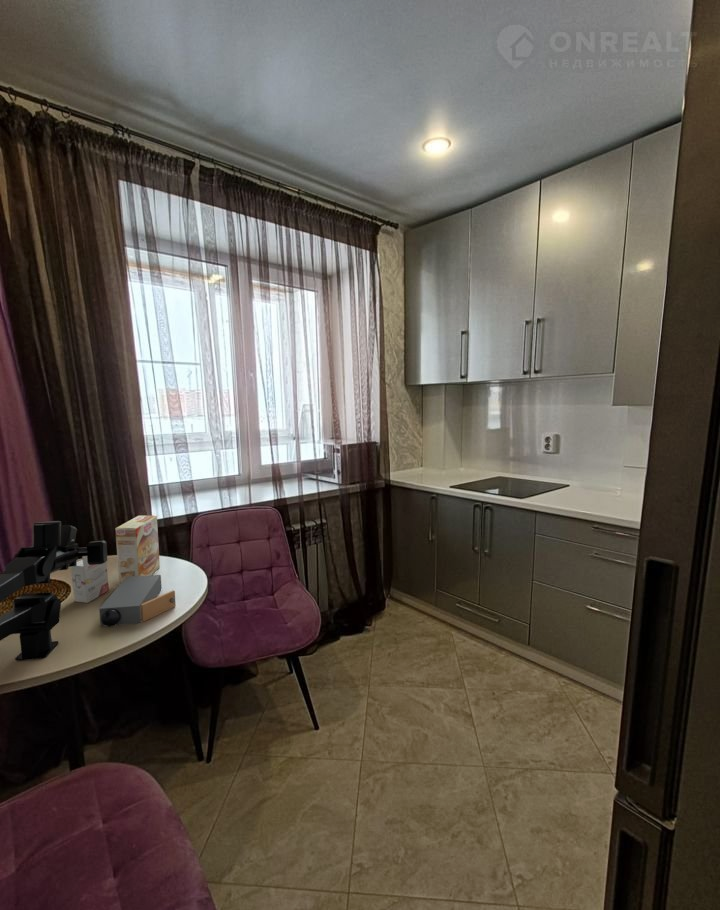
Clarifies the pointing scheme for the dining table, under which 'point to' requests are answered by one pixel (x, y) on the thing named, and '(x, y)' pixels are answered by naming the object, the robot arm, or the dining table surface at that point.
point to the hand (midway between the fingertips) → (84, 549)
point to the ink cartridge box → (89, 580)
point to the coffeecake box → (137, 547)
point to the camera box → (129, 600)
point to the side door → (158, 605)
